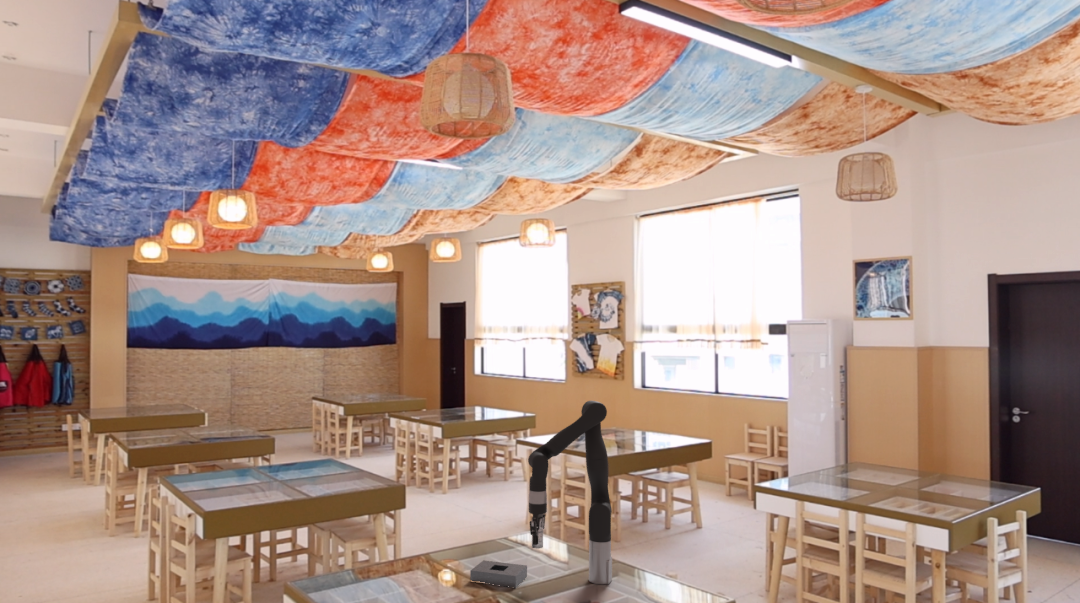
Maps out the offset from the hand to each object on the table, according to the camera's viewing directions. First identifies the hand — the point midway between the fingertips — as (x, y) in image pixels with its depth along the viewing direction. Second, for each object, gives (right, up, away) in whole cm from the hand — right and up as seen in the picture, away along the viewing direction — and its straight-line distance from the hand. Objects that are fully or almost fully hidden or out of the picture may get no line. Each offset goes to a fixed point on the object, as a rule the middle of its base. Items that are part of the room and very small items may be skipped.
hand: (537, 542), depth 309 cm
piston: (0, -2, 0) cm, 2 cm away
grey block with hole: (-16, -17, +5) cm, 24 cm away
